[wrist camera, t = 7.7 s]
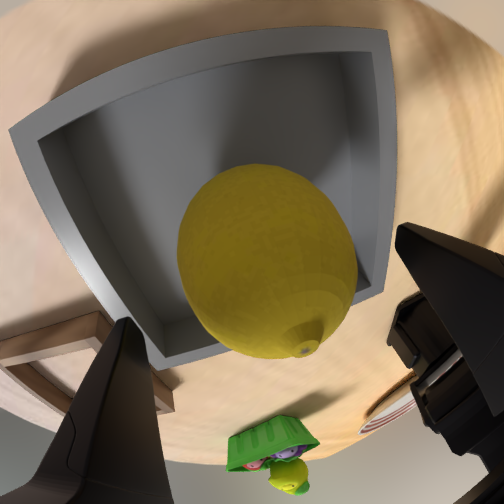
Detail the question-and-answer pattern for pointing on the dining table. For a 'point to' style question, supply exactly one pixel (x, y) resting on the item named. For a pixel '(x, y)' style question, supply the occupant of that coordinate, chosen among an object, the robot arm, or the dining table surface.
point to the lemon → (266, 262)
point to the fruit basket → (274, 452)
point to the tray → (211, 159)
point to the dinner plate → (391, 407)
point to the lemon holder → (58, 343)
